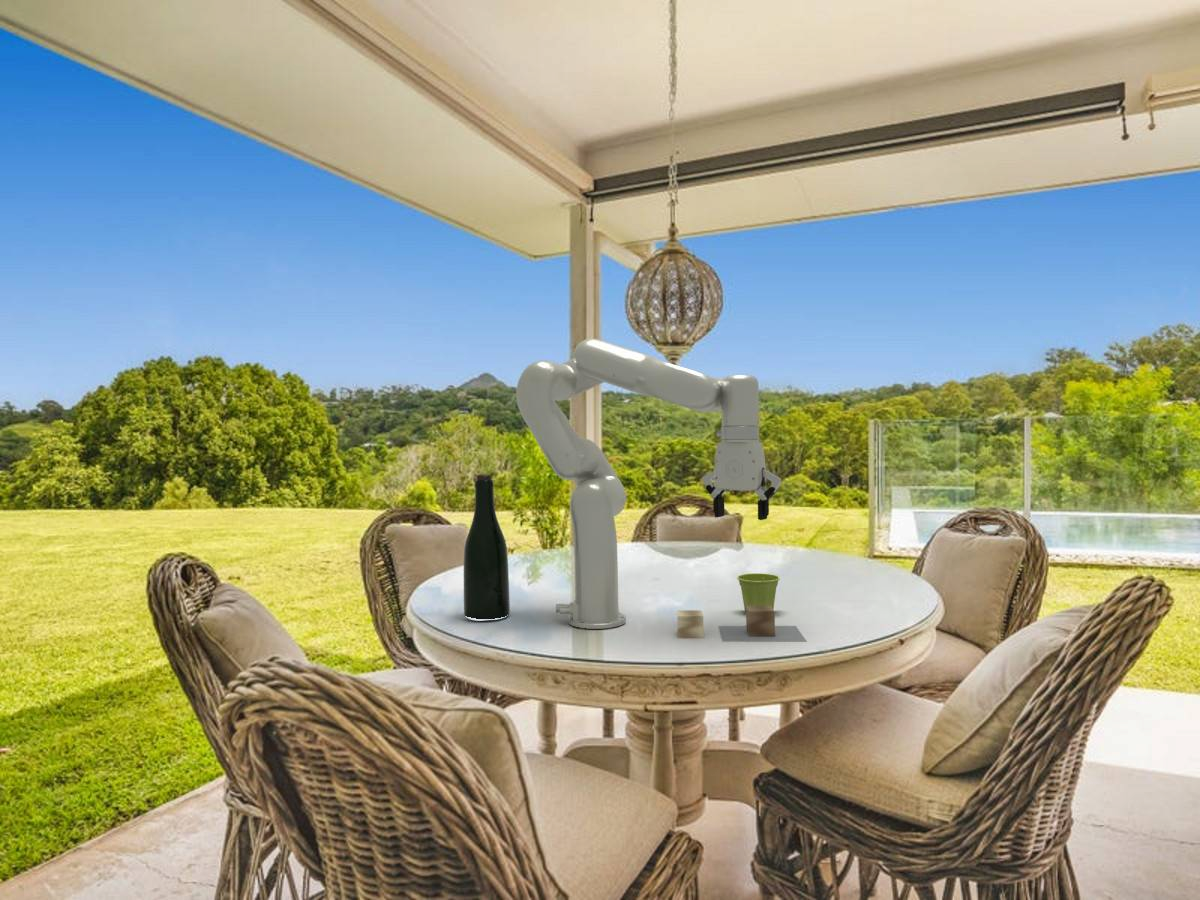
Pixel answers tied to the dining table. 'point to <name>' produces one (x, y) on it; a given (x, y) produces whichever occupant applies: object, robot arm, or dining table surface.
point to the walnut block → (760, 621)
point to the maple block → (690, 624)
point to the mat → (742, 636)
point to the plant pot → (758, 589)
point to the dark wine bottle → (485, 559)
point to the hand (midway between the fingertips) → (740, 518)
